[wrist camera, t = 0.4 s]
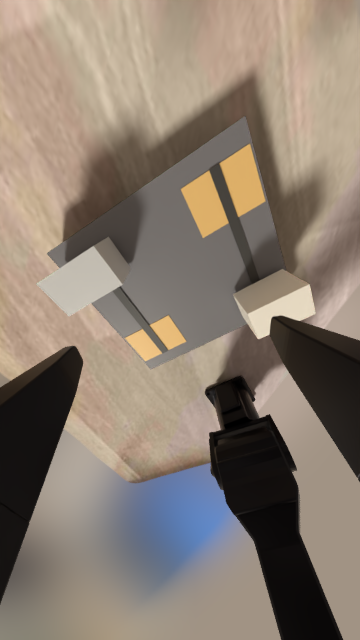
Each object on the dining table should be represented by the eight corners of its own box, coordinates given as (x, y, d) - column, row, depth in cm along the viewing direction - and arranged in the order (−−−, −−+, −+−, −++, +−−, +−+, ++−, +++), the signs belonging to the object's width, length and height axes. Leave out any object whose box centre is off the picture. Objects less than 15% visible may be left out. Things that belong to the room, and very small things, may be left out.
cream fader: (289, 294, 20) (315, 313, 16) (242, 316, 21) (258, 339, 17) (282, 268, 18) (309, 284, 15) (232, 294, 19) (247, 313, 16)
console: (280, 290, 23) (295, 302, 21) (152, 353, 27) (150, 370, 24) (232, 129, 16) (246, 114, 13) (62, 246, 19) (45, 253, 17)
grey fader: (131, 268, 17) (122, 284, 14) (86, 295, 18) (68, 316, 15) (108, 236, 16) (93, 246, 13) (62, 267, 17) (36, 283, 14)
